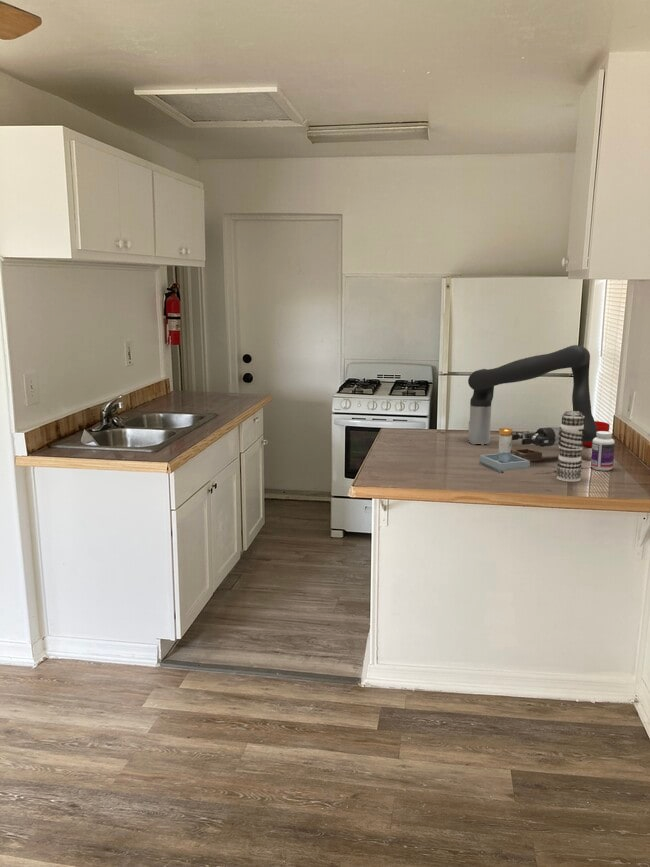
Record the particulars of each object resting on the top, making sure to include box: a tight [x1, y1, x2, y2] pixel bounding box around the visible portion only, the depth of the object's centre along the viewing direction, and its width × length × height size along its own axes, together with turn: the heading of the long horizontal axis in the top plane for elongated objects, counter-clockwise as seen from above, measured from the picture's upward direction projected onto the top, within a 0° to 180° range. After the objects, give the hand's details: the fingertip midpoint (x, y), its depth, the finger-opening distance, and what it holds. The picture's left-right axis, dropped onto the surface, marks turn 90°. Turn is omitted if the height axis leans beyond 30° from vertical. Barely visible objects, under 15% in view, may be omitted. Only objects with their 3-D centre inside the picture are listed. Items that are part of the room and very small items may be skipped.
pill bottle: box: [590, 431, 616, 472], centre depth 275 cm, size 8×8×14 cm
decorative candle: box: [556, 410, 585, 483], centre depth 261 cm, size 9×9×25 cm
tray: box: [479, 453, 531, 474], centre depth 280 cm, size 15×13×4 cm
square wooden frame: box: [511, 447, 543, 462], centre depth 289 cm, size 9×9×4 cm
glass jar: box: [497, 427, 514, 463], centre depth 279 cm, size 5×5×14 cm
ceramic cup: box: [582, 420, 610, 448], centre depth 313 cm, size 13×17×10 cm
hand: (515, 439), depth 280 cm, fingers open, 8 cm apart
